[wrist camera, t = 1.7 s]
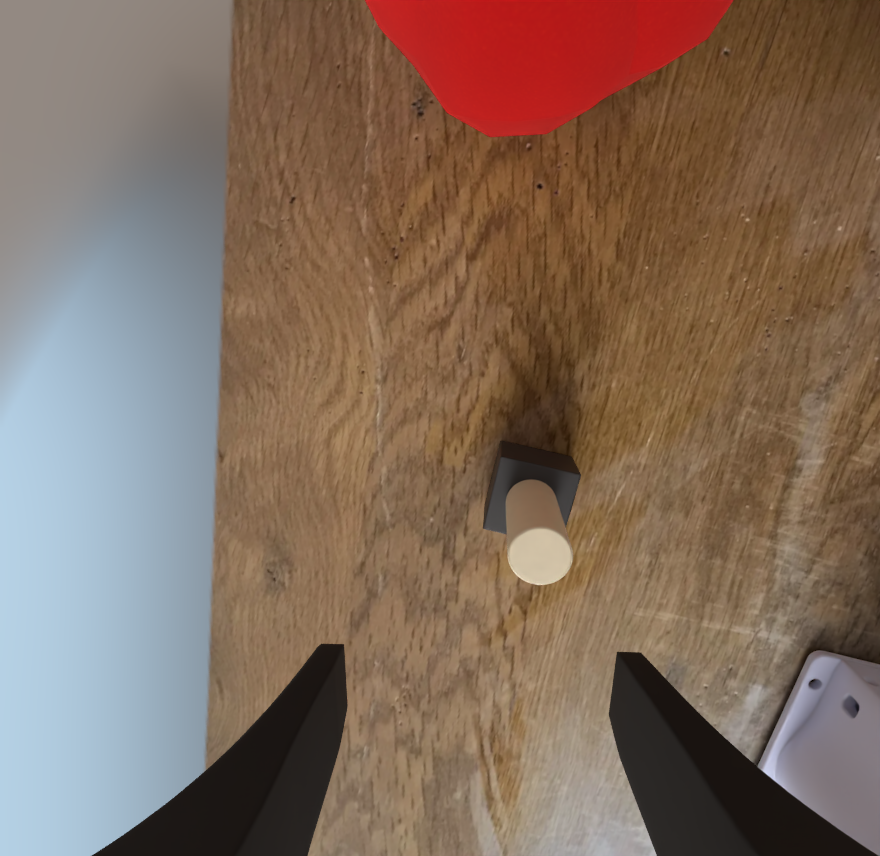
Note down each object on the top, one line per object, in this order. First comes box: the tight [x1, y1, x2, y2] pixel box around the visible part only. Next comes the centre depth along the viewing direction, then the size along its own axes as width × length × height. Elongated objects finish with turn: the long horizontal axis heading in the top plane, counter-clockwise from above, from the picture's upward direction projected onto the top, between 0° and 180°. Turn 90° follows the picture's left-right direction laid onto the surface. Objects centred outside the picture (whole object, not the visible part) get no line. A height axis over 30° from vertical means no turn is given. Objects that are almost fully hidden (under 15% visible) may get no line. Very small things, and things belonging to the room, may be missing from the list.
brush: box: [483, 441, 581, 585], centre depth 19 cm, size 3×3×7 cm
